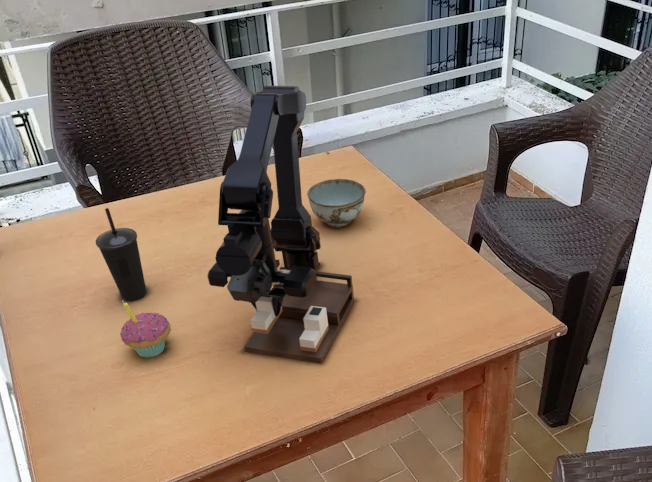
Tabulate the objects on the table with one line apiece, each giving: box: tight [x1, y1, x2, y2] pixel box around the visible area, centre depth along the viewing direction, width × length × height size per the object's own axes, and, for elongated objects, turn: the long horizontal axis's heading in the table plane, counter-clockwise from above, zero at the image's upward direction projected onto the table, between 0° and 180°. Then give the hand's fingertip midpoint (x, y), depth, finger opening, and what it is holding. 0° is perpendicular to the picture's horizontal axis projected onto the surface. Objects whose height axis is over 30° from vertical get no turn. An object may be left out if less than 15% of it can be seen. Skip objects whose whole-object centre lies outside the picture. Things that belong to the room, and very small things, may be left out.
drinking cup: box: [95, 207, 147, 302], centre depth 136 cm, size 8×8×20 cm
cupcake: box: [119, 299, 172, 359], centre depth 124 cm, size 9×8×12 cm
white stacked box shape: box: [299, 306, 329, 352], centre depth 126 cm, size 7×3×5 cm, turn 167°
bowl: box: [306, 178, 367, 228], centre depth 163 cm, size 14×13×8 cm
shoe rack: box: [244, 266, 355, 364], centre depth 131 cm, size 15×19×6 cm
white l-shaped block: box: [250, 288, 282, 334], centre depth 126 cm, size 7×3×5 cm, turn 167°
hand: (269, 313), depth 128 cm, fingers closed on white l-shaped block, 3 cm apart
